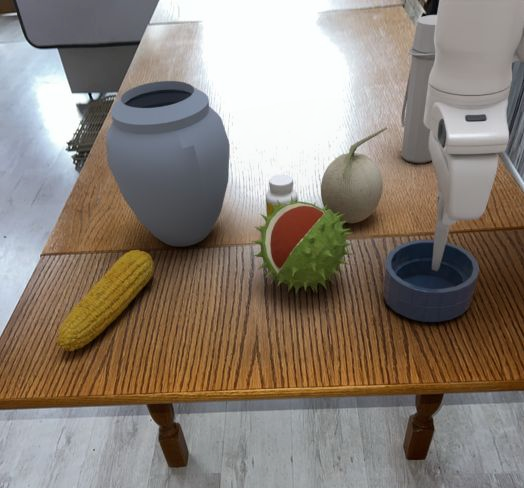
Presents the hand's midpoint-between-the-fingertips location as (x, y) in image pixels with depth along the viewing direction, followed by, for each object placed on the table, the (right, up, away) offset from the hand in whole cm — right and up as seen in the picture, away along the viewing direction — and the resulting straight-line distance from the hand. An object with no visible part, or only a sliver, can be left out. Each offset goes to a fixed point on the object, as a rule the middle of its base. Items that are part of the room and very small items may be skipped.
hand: (445, 214), depth 73 cm
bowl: (0, -10, +8) cm, 13 cm away
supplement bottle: (-21, +3, +24) cm, 32 cm away
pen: (+1, -7, +6) cm, 9 cm away
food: (-47, -13, +11) cm, 50 cm away
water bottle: (+7, +22, +41) cm, 47 cm away
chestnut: (-18, -8, +13) cm, 23 cm away
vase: (-38, +2, +25) cm, 46 cm away
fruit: (-9, +5, +25) cm, 27 cm away
